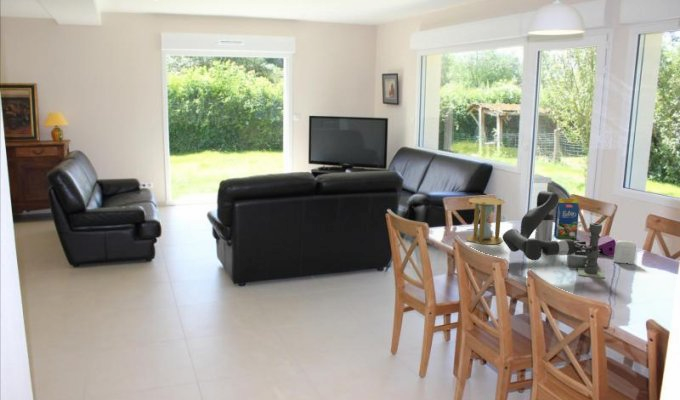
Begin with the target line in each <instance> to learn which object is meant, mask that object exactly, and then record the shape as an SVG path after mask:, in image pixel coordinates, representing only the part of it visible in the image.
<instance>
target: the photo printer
mask: <svg viewBox="0 0 680 400" xmlns="http://www.w3.org/2000/svg"><path fill="white" fill-rule="evenodd" d="M615 242H616V245H615V252H614V255H613V262H614V263H619V264H626V263H628V265H629V264H630V265H634V264H635V260H636V258H635V257H636V251H637V244H636V242H634V241H630V240H617V241H615Z"/></svg>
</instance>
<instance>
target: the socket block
mask: <svg viewBox="0 0 680 400" xmlns="http://www.w3.org/2000/svg"><path fill="white" fill-rule="evenodd" d="M587 260H588V258H587V256H586V253H581V252H580V251H579V252H576V251H575V252H574V254H572V255H566V264H567V265H566V266H567V267H568V268H569V267H570V268H577V269H578V268H585V265H586V261H587Z"/></svg>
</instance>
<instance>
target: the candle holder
mask: <svg viewBox="0 0 680 400" xmlns="http://www.w3.org/2000/svg"><path fill="white" fill-rule="evenodd" d="M602 229H603V224H601V223H599V222H597V223H596V222H590V223H589V233H590V234H589V235H588V237H589V243H590V244H589V246H597V251H592V253H586V256H587V258H588V260H587V261H586V265H585V269H584V272H585V273H588V274H597V273H598V270H599V266H598V265H599V263H598V259H599V257H600V250H599V248H598V241H599V238H601V236H600V234H601V232H602Z"/></svg>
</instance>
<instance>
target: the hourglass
mask: <svg viewBox="0 0 680 400" xmlns="http://www.w3.org/2000/svg"><path fill="white" fill-rule="evenodd" d="M468 200H469V203H472V204H474V215H473V216H474V218H473V234H472V235H469V236H466V239H467V241H468V242H471V243H475V244H482V245H485V244H486V245H498V244H500V243H503V242H504V240H503V238H502V237H500V231H501V219H502V205H503V204H506V201H505V200H504V199H501V198H493V197H479V196H478V197H477V196H475V197H473V198H469V199H468ZM495 205H496V214H495V228H494V229H495V230H494V235H493V232H492V229H491V228H490V226H489V223H488V222H487V219H488V217H489V216H490V215H491V213H492V212H493V210H494V209H495Z"/></svg>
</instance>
